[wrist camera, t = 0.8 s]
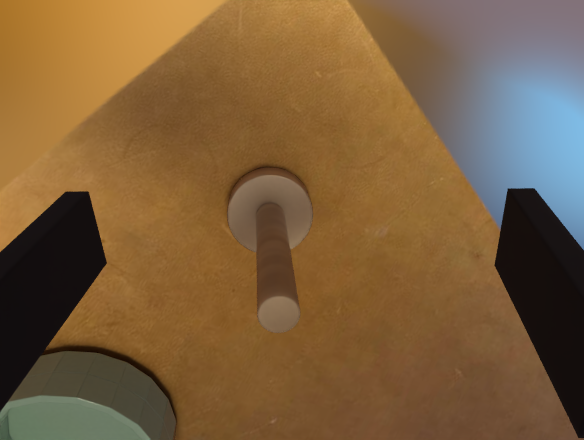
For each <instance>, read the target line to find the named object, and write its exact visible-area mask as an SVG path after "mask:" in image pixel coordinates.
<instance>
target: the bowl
mask: <svg viewBox="0 0 584 440" xmlns="http://www.w3.org/2000/svg"><path fill="white" fill-rule="evenodd" d="M175 433H176V419H175V416H174V414H173V411H172V408H171V405H170V402H169V399H168V398H167V397H166V396H165V394H164V393H163V392H162V391H161V390H160V388H159V387H158V386H157V385H156V383H155V382H154V381H153V380H152V379H151V378H150V377H149V376H147V375H146V374H144V373H143V372H141V371H140V370H138V369H137V368H135V367H134V366H132V365H131V364H129V363H127V362H125V361H121V360H118V359H115V358H112V357H109V356H106V355H103V354H100V353H93V352H77V351H62V352H57V353H52V354H47V355H42V356H40V357H39V359H38V360H37V362H36V363H35V364H34V366H33V367H32V369H31V370H30V371H29V373H28V374H27V375H26V377H25V378H24V380H23V381H22V382H21V384H20V385H19V387H18V388H17V389H16V391H15V392H14V394H13V395H12V396H11V398H10V399H9V401H8V402H7V403H6V405H5V406H4V408H3V409H2V410H1V412H0V440H175Z"/></svg>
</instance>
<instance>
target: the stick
mask: <svg viewBox="0 0 584 440" xmlns="http://www.w3.org/2000/svg"><path fill="white" fill-rule="evenodd" d="M227 217H228V224H229V227H230V230H231V232H232V234H233V236H234V237H235V238H236V240H237V241H238V242H239V243H240V244H242V245H243V246H244V247H246V248H247V249H249V250H251V251H253V252H256V253H257V317H258V320H259V322H260V324H261V325H262V326H263V327H264V328H265V329H266V330H268V331H271V332H275V333H281V332H286V331H288V330H290V329H292V328H293V327H294V326H295V325H296V324H297V322H298V320H299V318H300V308H299V301H298V295H297V289H296V283H295V276H294V270H293V264H292V258H291V251H290V250H291V249H292V248H294V247H296V246H297V245H298V244H299V243H300V242H301V241H302V240H303V239H304V238H305V237H306V235H307V234H308V232H309V230H310V227H311V224H312V219H313V209H312V204H311V201H310V198H309V195H308V192H307V190H306V187H305V186H304V184H303V183H302V182H301V181H300V180H299V179H298V178H297V177H296V176H295V175H293V174H292V173H290V172H288V171H286V170H283V169H279V168H272V167H267V168H260V169H257V170H254V171H251V172H249V173H248V174H246V175H245V176H243V177H242V178H241V179H240V180H239V181H238V182H237V183H236V185H235V186H234V188H233V190H232V192H231V195H230V198H229V204H228V213H227Z"/></svg>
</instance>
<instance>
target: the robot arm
mask: <svg viewBox="0 0 584 440" xmlns="http://www.w3.org/2000/svg"><path fill="white" fill-rule="evenodd" d="M106 264H107V262H106V258H105V254H104V250H103V246H102V242H101V238H100V234H99V231H98V227H97V223H96V219H95V215H94V211H93V207H92V203H91V199H90V195H89V192H65V193H64V194H63V195H62V196H61V197H60V198H58V199H57V200H56V201H55V202H54V203H53V204H52V205H51V206H50V207H49V208H48V209H47V210H45V211H44V212H43V213H42V214H41V215H40V216H39V217H38V218H37V219H36V220H35V221H34V222H32V223H31V224H30V225H29V226H28V227H27V228H26V229H25V230H24V231H23V232H22V233H21V234H19V235H18V236H17V237H16V238H15V239H14V240H13V241H12V242H11V243H10V244H9V245H8V246H7V247H5V248H4V249H3V250H2V251H1V252H0V412H1V410H2V409H3V408H4V406H5V405H6V403H7V402H8V401H9V399H10V398H11V396H12V395H13V394H14V392H15V391H16V389H17V388H18V387H19V385H20V384H21V382H22V381H23V380H24V378H25V377H26V375H27V374H28V373H29V371H30V370H31V369H32V367H33V366H34V364H35V363H36V362H37V360H38V359H39V357H40V356H41V355H42V353H43V352H44V350H45V349H46V348H47V346H48V345H49V343H50V342H51V341H52V339H53V338H54V336H55V335H56V334H57V332H58V331H59V329H60V328H61V327H62V325H63V324H64V322H65V321H66V320H67V318H68V317H69V315H70V314H71V313H72V311H73V310H74V308H75V307H76V306H77V304H78V303H79V301H80V300H81V299H82V297H83V296H84V294H85V293H86V292H87V290H88V289H89V287H90V286H91V285H92V283H93V282H94V280H95V279H96V278H97V276H98V275H99V273H100V272H101V271H102V269H103V268H104V266H105V265H106ZM495 267H496V269H497V271H498V273H499V275H500V277H501V279H502V282H503V284H504V286H505V288H506V290H507V292H508V294H509V296H510V298H511V300H512V302H513V304H514V306H515V308H516V310H517V312H518V314H519V316H520V318H521V321H522V323H523V325H524V327H525V329H526V331H527V333H528V335H529V337H530V339H531V341H532V343H533V345H534V347H535V349H536V351H537V353H538V355H539V358H540V360H541V362H542V364H543V366H544V368H545V370H546V372H547V374H548V376H549V378H550V380H551V382H552V384H553V386H554V388H555V390H556V392H557V394H558V397H559V399H560V401H561V403H562V405H563V407H564V409H565V411H566V413H567V415H568V417H569V419H570V421H571V423H572V425H573V427H574V429H575V431H576V434H577V436H578V438H584V250H583V249H582V248H581V246H580V245H579V244H578V243H577V242H576V240H575V239H574V238H573V236H572V235H571V234H570V233H569V231H568V230H567V229H566V228H565V226H564V225H563V224H562V223H561V222H560V220H559V219H558V218H557V216H556V215H555V214H554V213H553V211H552V210H551V209H550V208H549V206H548V205H547V204H546V203H545V201H544V200H543V199H542V198H541V196H540V195H539V194H538V193H537V191H536V190H535V189H533V188H525V189H508V191H507V196H506V203H505V208H504V214H503V220H502V225H501V231H500V237H499V243H498V249H497V254H496V260H495Z"/></svg>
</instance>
